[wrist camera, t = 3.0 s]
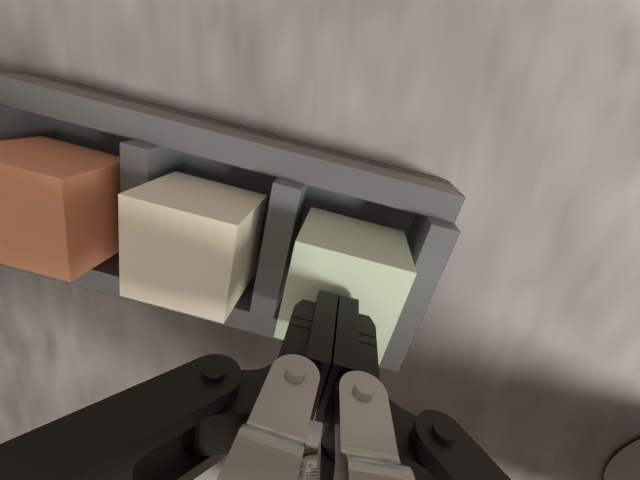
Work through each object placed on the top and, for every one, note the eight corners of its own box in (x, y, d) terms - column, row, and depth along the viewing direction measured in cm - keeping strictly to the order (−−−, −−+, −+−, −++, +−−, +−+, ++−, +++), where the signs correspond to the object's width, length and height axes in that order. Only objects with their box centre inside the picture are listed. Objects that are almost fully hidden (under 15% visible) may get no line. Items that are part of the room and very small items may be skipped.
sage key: (404, 231, 15) (416, 273, 12) (375, 308, 17) (379, 365, 13) (311, 206, 15) (295, 241, 12) (292, 286, 17) (273, 337, 14)
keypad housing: (448, 180, 17) (473, 204, 13) (391, 322, 20) (398, 372, 17) (46, 75, 17) (-41, 70, 13) (60, 234, 21) (-4, 263, 17)
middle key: (267, 195, 15) (237, 225, 12) (253, 275, 17) (223, 323, 14) (175, 171, 16) (117, 193, 12) (171, 253, 17) (119, 295, 14)
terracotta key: (132, 159, 16) (61, 178, 12) (132, 243, 17) (70, 282, 14) (41, 135, 16) (-57, 147, 12) (50, 221, 17) (-32, 254, 14)
